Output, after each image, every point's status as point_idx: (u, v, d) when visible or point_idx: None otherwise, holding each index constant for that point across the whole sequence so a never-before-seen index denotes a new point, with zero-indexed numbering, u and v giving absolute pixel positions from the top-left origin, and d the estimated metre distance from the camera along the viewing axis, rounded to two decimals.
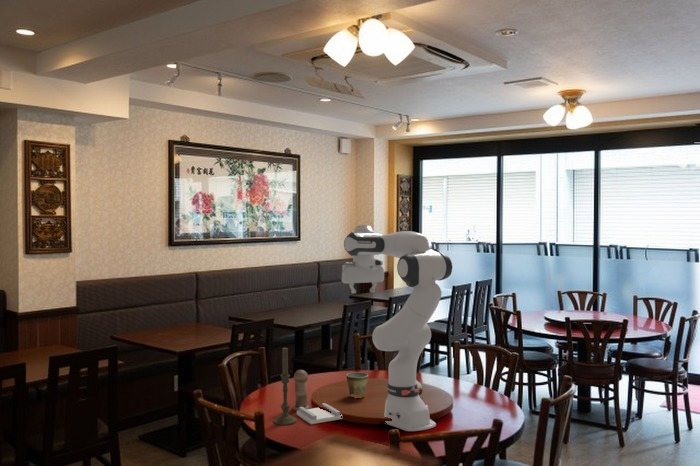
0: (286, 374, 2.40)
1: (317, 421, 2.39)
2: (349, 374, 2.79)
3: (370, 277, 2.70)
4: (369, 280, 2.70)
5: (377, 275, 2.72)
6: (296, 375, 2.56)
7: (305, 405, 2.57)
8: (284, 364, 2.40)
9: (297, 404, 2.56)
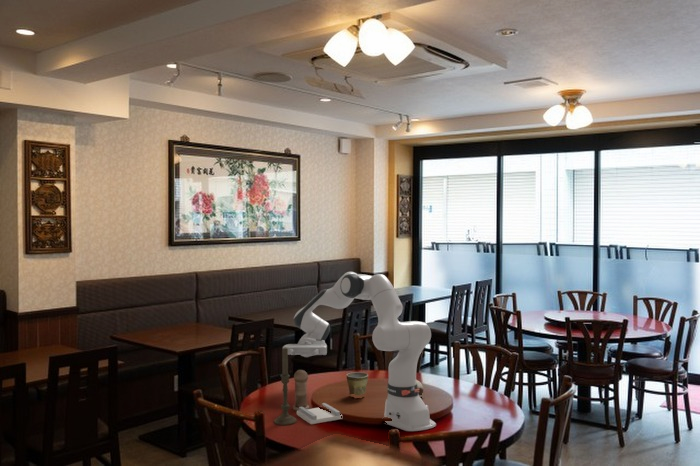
0: (286, 374, 2.40)
1: (317, 421, 2.39)
2: (349, 374, 2.79)
3: (311, 346, 2.76)
4: (309, 346, 2.75)
5: (318, 345, 2.77)
6: (296, 375, 2.56)
7: (305, 405, 2.57)
8: (284, 364, 2.40)
9: (297, 404, 2.56)
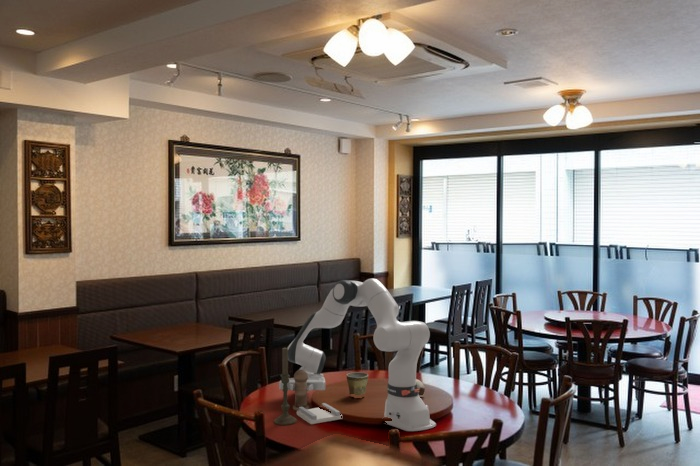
0: (286, 374, 2.40)
1: (317, 421, 2.39)
2: (349, 374, 2.79)
3: (308, 380, 2.64)
4: (307, 381, 2.63)
5: (316, 380, 2.65)
6: (296, 375, 2.56)
7: (305, 405, 2.57)
8: (284, 364, 2.40)
9: (297, 404, 2.56)
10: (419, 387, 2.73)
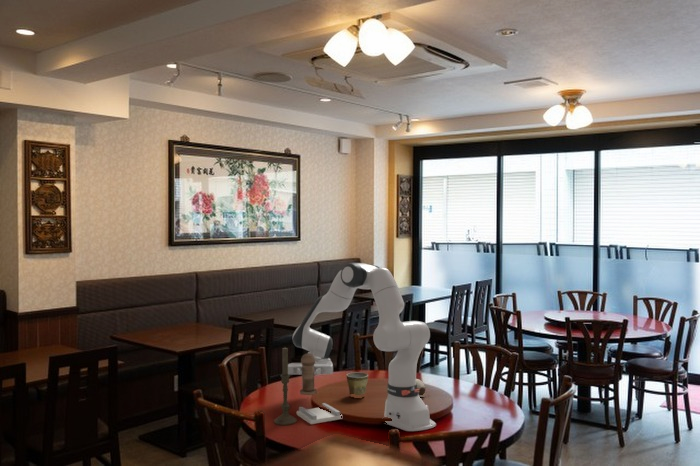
0: (286, 374, 2.40)
1: (317, 421, 2.39)
2: (349, 374, 2.79)
3: (316, 364, 2.60)
4: (314, 365, 2.58)
5: (324, 364, 2.60)
6: (303, 358, 2.52)
7: (313, 389, 2.52)
8: (284, 364, 2.40)
9: (304, 388, 2.52)
10: (420, 387, 2.73)
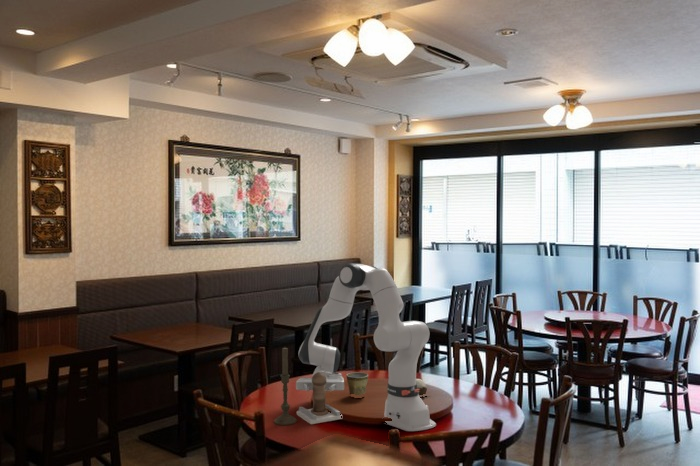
0: (286, 374, 2.40)
1: (317, 421, 2.39)
2: (349, 374, 2.79)
3: (326, 380, 2.53)
4: None
5: (335, 380, 2.54)
6: (314, 378, 2.45)
7: (324, 409, 2.46)
8: (284, 364, 2.40)
9: (315, 408, 2.45)
10: (421, 386, 2.73)
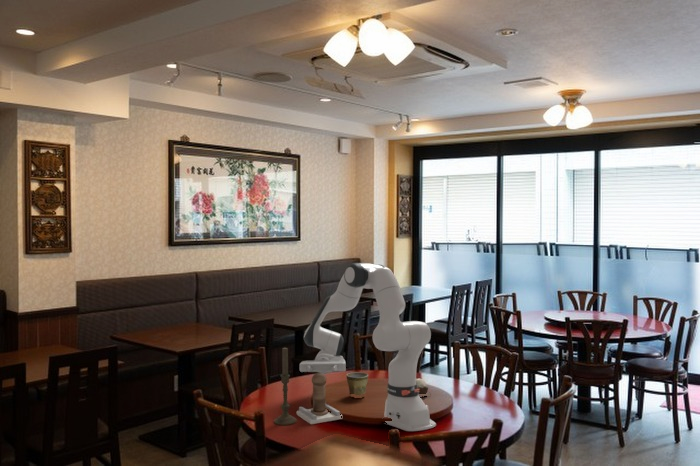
0: (286, 374, 2.40)
1: (317, 421, 2.39)
2: (349, 374, 2.79)
3: (329, 362, 2.64)
4: (327, 362, 2.63)
5: (337, 361, 2.65)
6: (314, 378, 2.45)
7: (324, 409, 2.46)
8: (284, 364, 2.40)
9: (315, 408, 2.45)
10: (423, 386, 2.74)
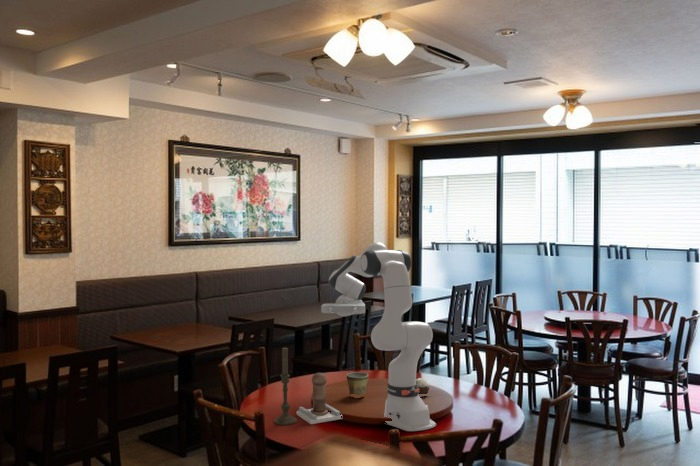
0: (286, 374, 2.40)
1: (317, 421, 2.39)
2: (349, 374, 2.79)
3: (349, 304, 2.77)
4: (348, 305, 2.76)
5: (356, 304, 2.78)
6: (314, 378, 2.45)
7: (324, 409, 2.46)
8: (284, 364, 2.40)
9: (315, 408, 2.45)
10: (424, 386, 2.74)
